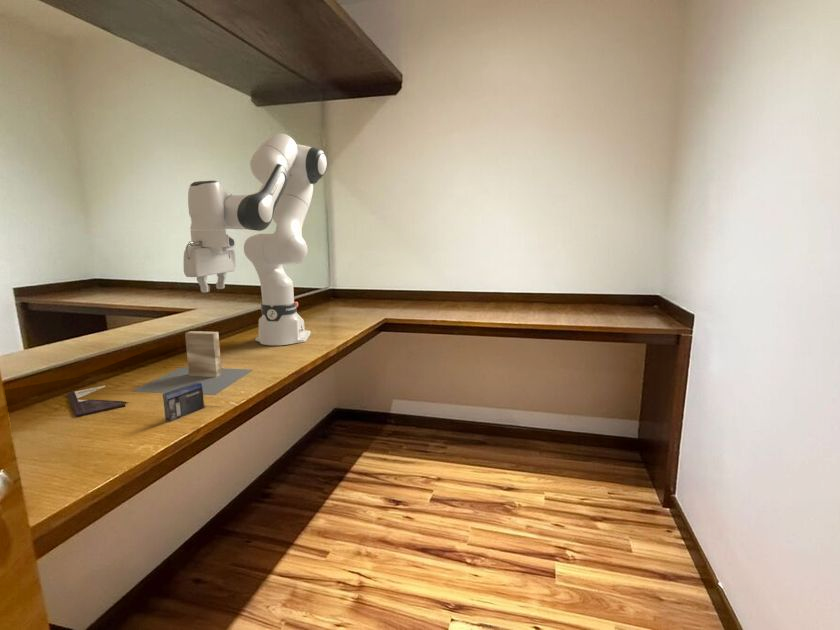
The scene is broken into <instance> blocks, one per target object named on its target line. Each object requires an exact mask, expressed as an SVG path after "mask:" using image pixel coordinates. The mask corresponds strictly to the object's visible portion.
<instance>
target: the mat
mask: <svg viewBox="0 0 840 630" xmlns="http://www.w3.org/2000/svg"><path fill="white" fill-rule="evenodd" d="M221 371H222V374H221V375H219V376H217V377H207V376H189V369H188V366H180V367H178V368H177V369H175V370H172V371H170V372H168V373H166V374H164V375H162V376H159V377H157V378H156V379H153V380H151V381H149V382H147V383H145V384H143V385H141V386H139V387H136V388H135V389H132V390H130V392H133V393H134V392H135V393H138V392H139V393H153V394H155V393H157V394H164V393H167V392H170V391H173V390H176V389H179V388H182V387H185V386H188V385H191V384H194V383H197V382H198V383H201V384H202V389H203V396H204V395H205V396H206V395H207V396H216V395H218V394H219V393H221V392H222V391H224V390H225V389H228V387H230V386H232V385H233V384H234V383H236V382H237V381H239V380H241V379H242V378H244V377H245V376H247V375H248V374H250V373H251V372H253V371H254V369H251V368H250V369H246V368H222V367H221Z"/></svg>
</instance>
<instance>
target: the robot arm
mask: <svg viewBox="0 0 840 630" xmlns="http://www.w3.org/2000/svg"><path fill="white" fill-rule="evenodd" d="M249 161H250V164H249V165H250V170H251V172H252V175H253V176H254V177H255V179H257V180H258V181H259V182H260V183H261V184H262V185H261V187H260V188H259V190H258V191H257V192H254V193H251V194H242V195H241V194H237V195H233V194H232V193H230V192H229V191H227V190H225V189H224V188H223V187H222V185H221V183H220V182H219V181H217V180H198V181H194V182H192V183H190V185H189V188H188V191H187V200H188V201H187V204H188V205H187V206H188V215H189V217H190V222H191V224H190V227H189V229H190V239H191V241H189V242H188V243H187V244H186V246H185V249H184V252H183V273H184V276H185V277H187V278H196V281H197V284H198V285H199V286H200V292H201V293H210V291H211V289H210V288H211V286H210V285H209V284H208V282H207V280H208V276H213V275H216V277H217V282H216V283H215V287H216V289H217V290H222V289H225V286H226V285H225V282H226V278H227V273H230V272H231V273H232V272H235V269H236V266H237V265H236V264H237V262H236V259H237V258H236V251H235V247H236V244H237V243H236V240H235V238H234V237H233V238H232V237H231V236H230V235H228V234H227V230H249V231H258V232H261V231H264V230H266V229H267V228H268V227H270V225H271V223H272V221H274V223H275V224H276V227H275V231H274V232H273V233H258V234H254V235H250V236H249V237H248V238H247V239H246V240H245V241H244V245H243V252H244V255H245V257H246V258H247V259H248V260H249V261H250V262H251V264H252V265H253V267H254V269H255V272H256V273H257V276H258V279H259V282H260V292H261V304H260V306H261V307H260V311H261V312H260V313H261V315H262V316H260V317H259V318H258V336H256V337H255V341H256V342H259V343H260V344H261V345H264V346H285V345H294V344H299V343H305V342H306V341H307V340H308V339H309V337H310V336H311V334H312V332H311V331H310V330H307V329H305V328H306V327H305V320H304V319H303V318H302V317H301V315H299V313H298V309H297V308H299V302H298V301H295V295H294V294H295V293H294V289H295V288H294V281H293V279H291V278H290V277H289V276H288V275H287V273H286V272H285V271H286V270H285V269H284V267H283V266H287V267H289V266H295V265H299V264H303V262H304V261H305V260H306V259H307V256H308V251H309V250H308V244H307V242H306V240H305V239H304V237H303V231H302V230H303V225H304V223H305V219H306V217H307V213H308V211H309V209H310V205H311V202H312V198H313V193H314V185H316V184H317V183H318V181H319V180H321V179H322V178H323V177H324V175H325V174H326V172H327V167H328V158H327V156H326V154H325V152H324V151H323V150H322V149H320V148H317V147H316V146H308V145H303V144H299V143H296V141H295V140H294V139H293V138H292V137H291V136H290V135H289V134H286V133H282V132H281V133H280V132H279V133H276V134H273V135H272V136H271V137H269V138H268V139H266V140H265V141H264V142H263V143H262V144H261V145H260V146H259V147H258V148H257V150H256V151H255V152H254V153H253V155H252V156H251V159H250V160H249Z"/></svg>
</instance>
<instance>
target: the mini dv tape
mask: <svg viewBox="0 0 840 630" xmlns="http://www.w3.org/2000/svg"><path fill="white" fill-rule="evenodd" d="M162 400H163V402H162V403H163V408H164V409H163V410H164V417H165V418H164V419H165V421H167V422H170V423H171V422H173V421H177V420H178V419H180V418H183V417H186V416H189V415H190V414H193V413H195V412H198V411H201V410H203V409H205V401H204V400H205V399H204V395H203V389H202V384H201V383H198V382H197V383H194V384H191V385H188V386H185V387H182V388H179V389H176V390H173V391H170V392H167V393H162Z"/></svg>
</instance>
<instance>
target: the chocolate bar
mask: <svg viewBox="0 0 840 630" xmlns="http://www.w3.org/2000/svg"><path fill="white" fill-rule="evenodd" d="M107 386H109V384H108V385H102V386H96V387H91V388H86V389H82V390H75V391H69V392H67V396H68V399H69V403H70V406H71V408H72V410H73V414H74V416H75V418H81V417H84V416H89V415H90V416H91V415H93V414H94V415H95V414H99V413H103V412H107V411H112V410H115V409H116V410H117V409H121V408H126V404H125V402H124V401H123V400H108V399H107V400H103V399H102V400H101V399H87V398H86V399H85V398H84V399H82V398H81V397H84V396H86V395H89V394H92V393H94V392H96V391H98V390H100V389H103V388H105V387H107ZM79 398H80V399H79Z"/></svg>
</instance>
